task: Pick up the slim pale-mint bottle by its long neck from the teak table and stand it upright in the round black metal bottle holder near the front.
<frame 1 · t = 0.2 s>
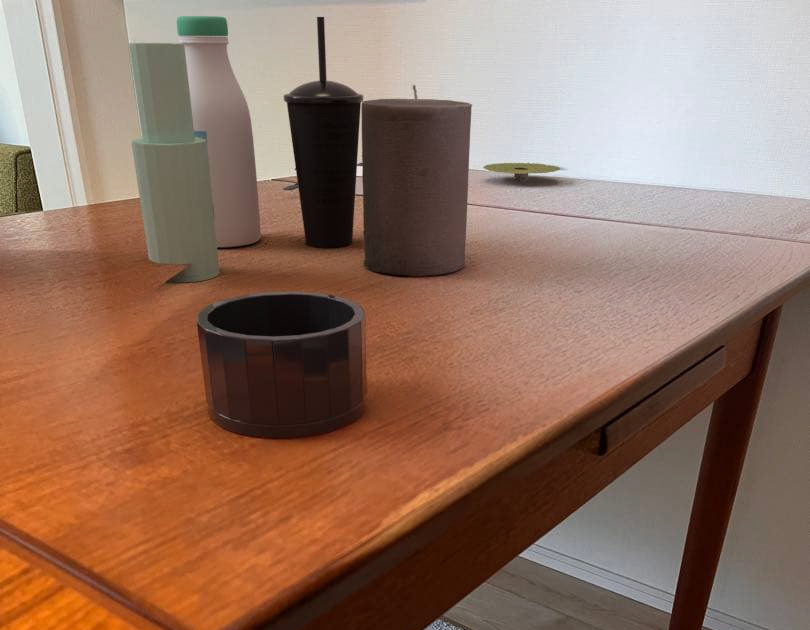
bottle: (186, 274, 76), on the table
milk bottle: (224, 243, 88), on the table
green disc on stem: (520, 182, 124), on the table
holder: (288, 406, 49), on the table
container: (340, 189, 118), on the table
drinking cup: (329, 244, 88), on the table
pillar candle: (414, 266, 80), on the table
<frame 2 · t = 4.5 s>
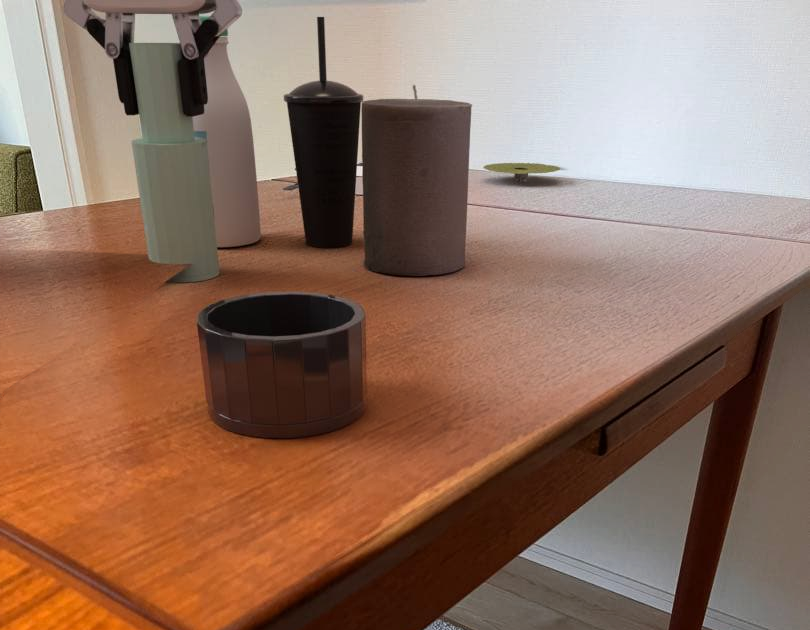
hand: (165, 111, 69), 13 cm above the table, tool pointing down, fingers closed on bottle, 4 cm apart
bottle: (186, 274, 76), on the table, touching gripper
everything else where it was.
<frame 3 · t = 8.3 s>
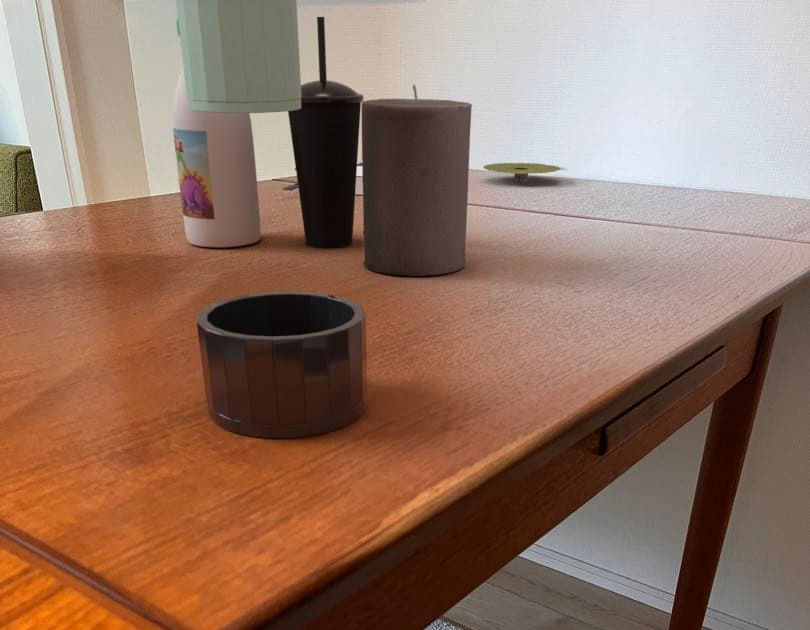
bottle: (245, 108, 45), point 15 cm above the table, touching gripper
everything else where it was.
when the fingers open (14 cm above the table, at t = 12.4 s): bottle stays where it is, resting on holder.
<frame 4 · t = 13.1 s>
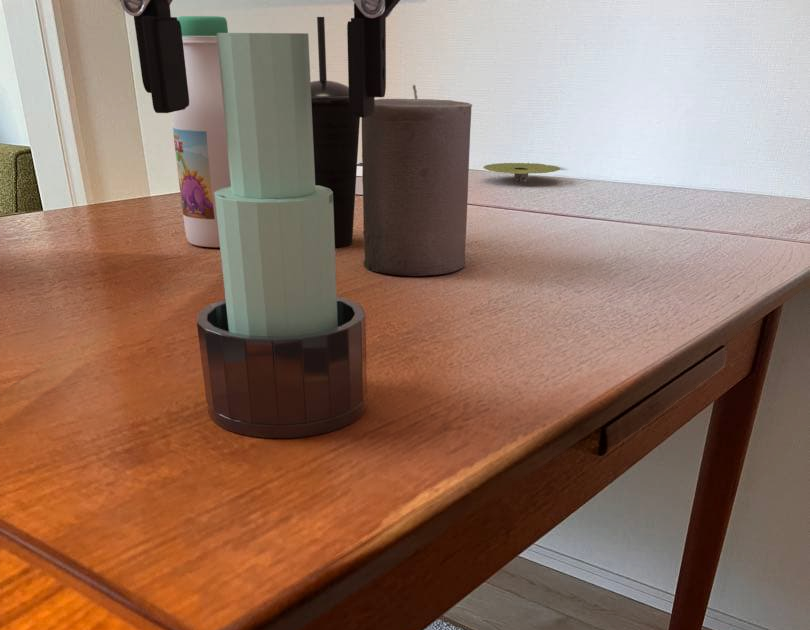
hand: (266, 112, 41), 15 cm above the table, tool pointing down, fingers open, 9 cm apart
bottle: (287, 393, 49), point 1 cm above the table, touching holder
everything else where it was.
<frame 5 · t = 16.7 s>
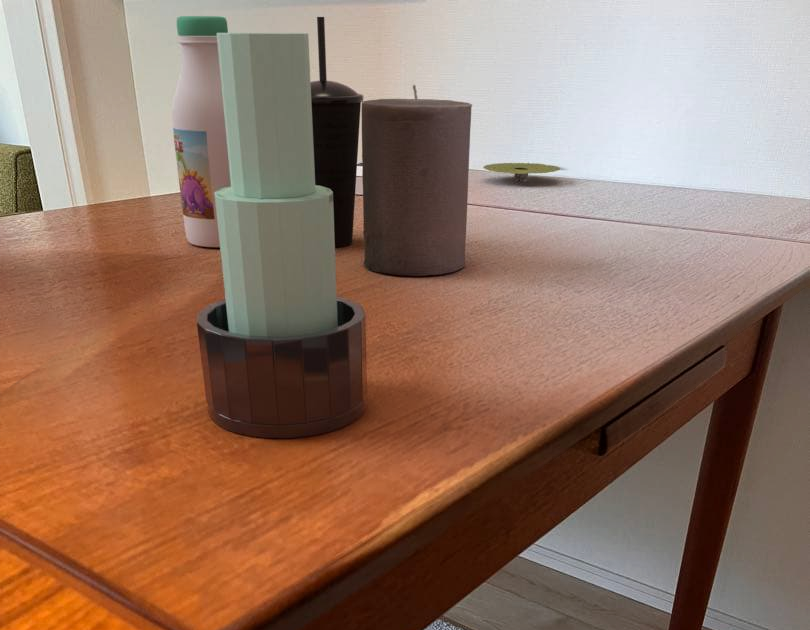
nothing on the table moved.
at the end: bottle 0.0 cm off-centre in the holder, point 0.8 cm above the holder's base; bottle tilted 0°; the gripper is holding nothing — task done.
